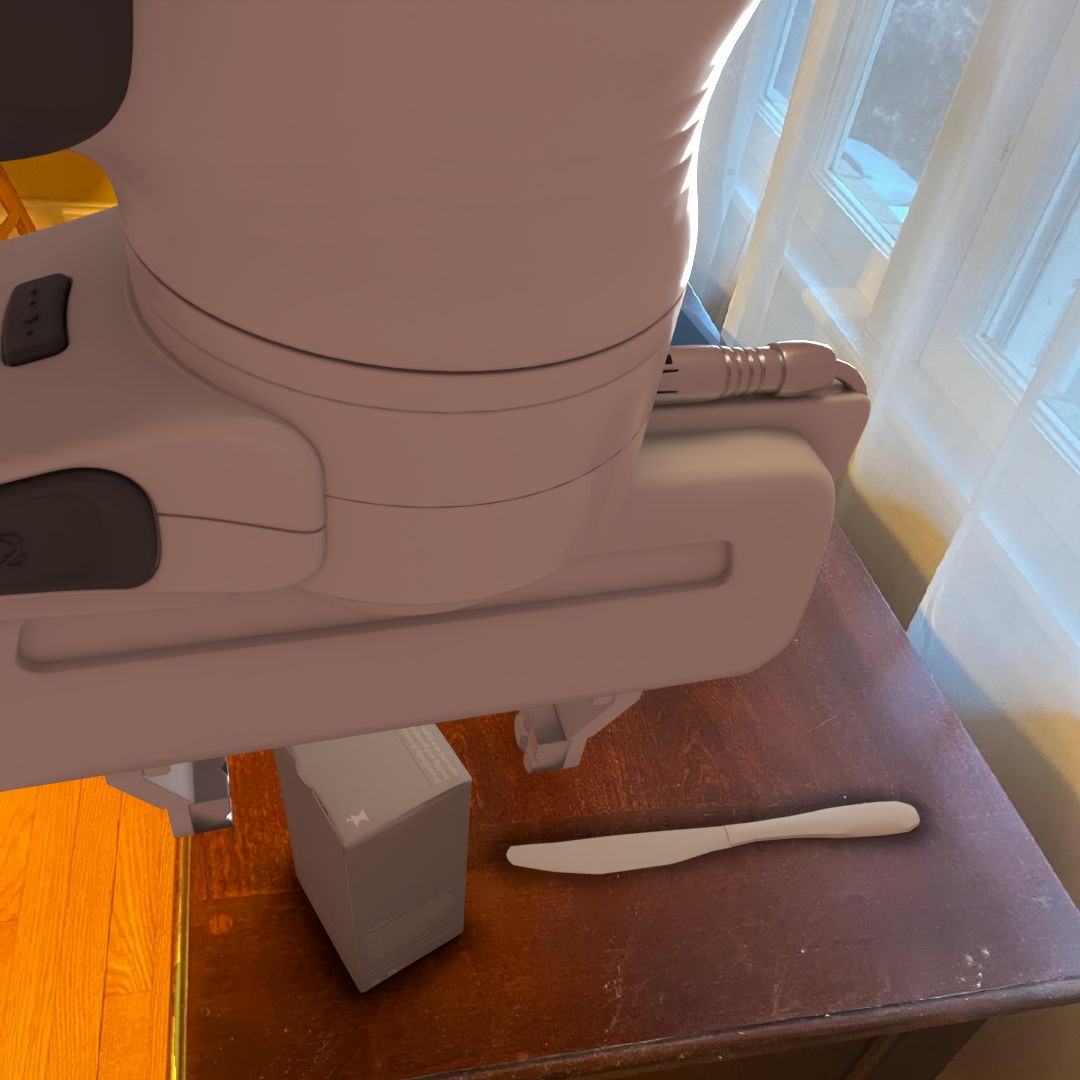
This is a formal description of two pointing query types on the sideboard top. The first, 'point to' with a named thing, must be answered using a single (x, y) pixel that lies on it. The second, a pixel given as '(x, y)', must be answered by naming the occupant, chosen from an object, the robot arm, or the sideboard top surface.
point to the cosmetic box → (380, 843)
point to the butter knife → (711, 839)
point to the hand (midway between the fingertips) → (382, 778)
